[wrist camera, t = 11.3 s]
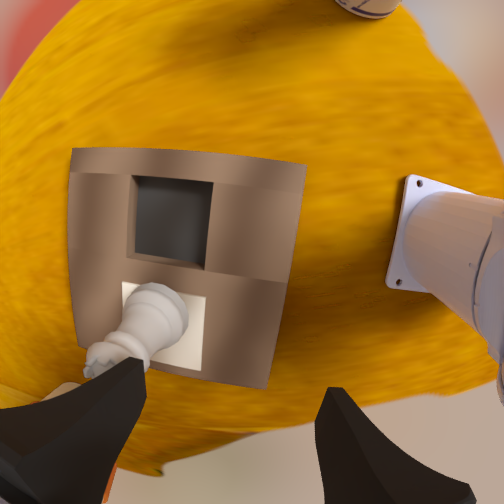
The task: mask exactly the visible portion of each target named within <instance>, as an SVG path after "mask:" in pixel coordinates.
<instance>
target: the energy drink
mask: <svg viewBox="0 0 504 504" xmlns="http://www.w3.org/2000/svg"><path fill="white" fill-rule="evenodd" d="M335 1H336V2H337V3H338V4H339V5H341V6H342V7H343V8H345V9H346V10H348V11H350V12H352V13H354V14H356V15H359V16H362V17H366V18H373V19H377V18H384V17H387V16H389V15H390V14H391V13H392V12H393V11H394V10H395V9H396V7H397V6H398V5H399V4H400V2H401V1H402V0H335Z"/></svg>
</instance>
